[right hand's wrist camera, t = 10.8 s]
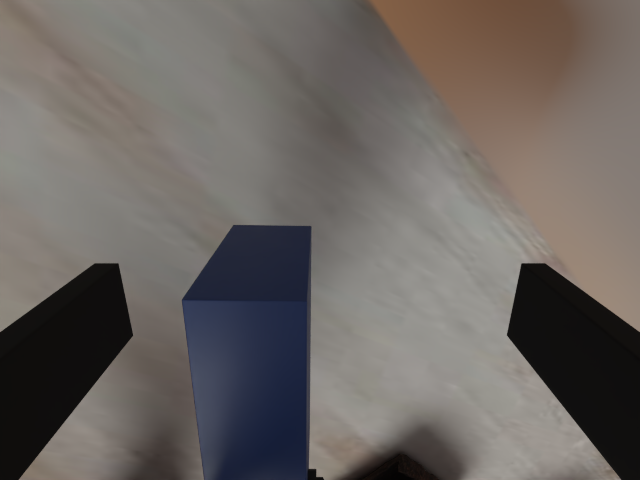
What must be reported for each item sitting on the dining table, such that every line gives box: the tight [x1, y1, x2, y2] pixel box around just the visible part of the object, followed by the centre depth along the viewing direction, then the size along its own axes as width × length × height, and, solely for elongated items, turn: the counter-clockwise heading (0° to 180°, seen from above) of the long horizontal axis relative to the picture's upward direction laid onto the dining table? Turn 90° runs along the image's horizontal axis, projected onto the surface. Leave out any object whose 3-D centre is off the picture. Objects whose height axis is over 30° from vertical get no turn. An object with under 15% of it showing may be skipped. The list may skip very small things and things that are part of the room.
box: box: [182, 225, 311, 480], centre depth 28 cm, size 21×6×12 cm, turn 179°
